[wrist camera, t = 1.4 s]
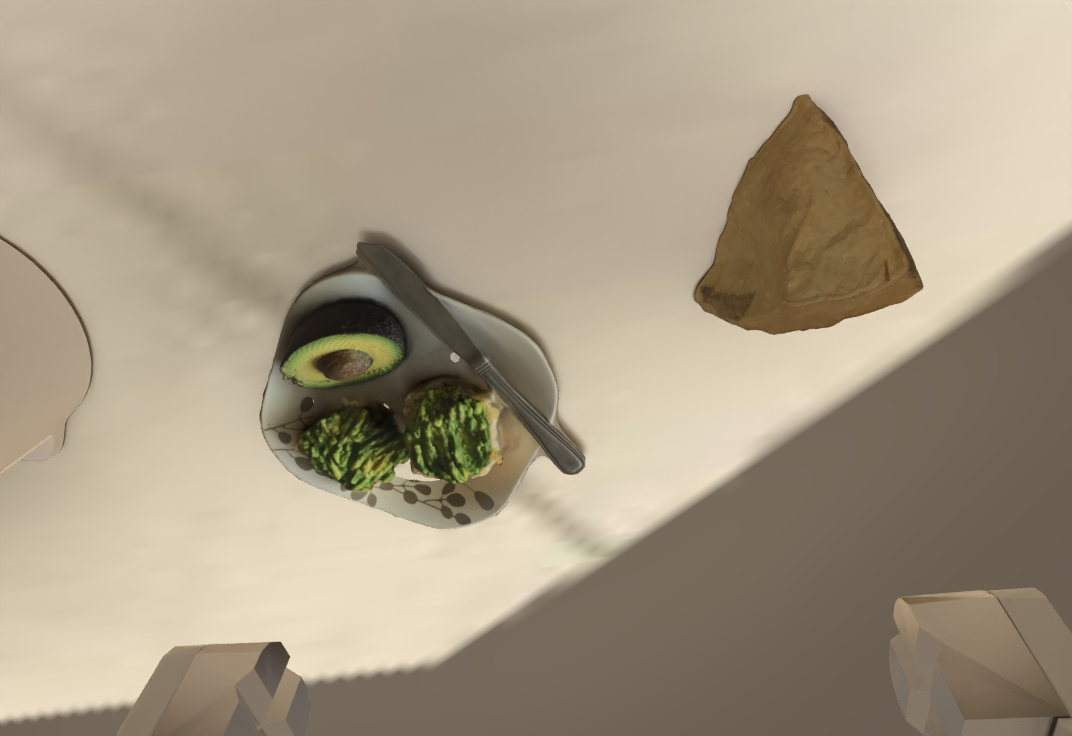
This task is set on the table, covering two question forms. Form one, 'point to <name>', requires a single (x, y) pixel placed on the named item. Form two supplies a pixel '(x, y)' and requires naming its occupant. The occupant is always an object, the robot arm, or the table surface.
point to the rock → (806, 237)
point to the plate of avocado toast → (409, 397)
